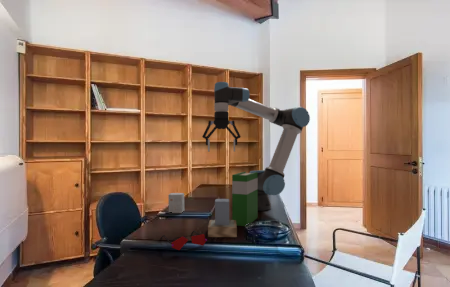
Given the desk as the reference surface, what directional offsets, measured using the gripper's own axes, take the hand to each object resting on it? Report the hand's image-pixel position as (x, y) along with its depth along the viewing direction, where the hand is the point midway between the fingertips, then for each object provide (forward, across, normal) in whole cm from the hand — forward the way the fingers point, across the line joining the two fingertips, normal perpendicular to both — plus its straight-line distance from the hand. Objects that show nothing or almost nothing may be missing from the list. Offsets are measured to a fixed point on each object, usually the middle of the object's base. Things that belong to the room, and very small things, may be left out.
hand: (221, 151), depth 157 cm
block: (+30, -1, +28) cm, 41 cm away
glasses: (+35, +14, +40) cm, 55 cm away
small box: (+35, +26, -11) cm, 45 cm away
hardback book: (+35, -12, +9) cm, 38 cm away
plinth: (+35, -1, +28) cm, 45 cm away
